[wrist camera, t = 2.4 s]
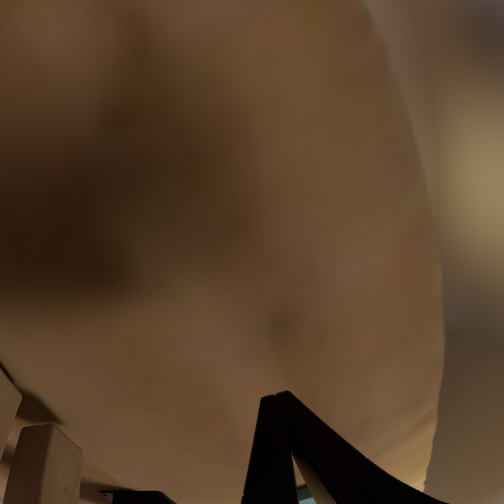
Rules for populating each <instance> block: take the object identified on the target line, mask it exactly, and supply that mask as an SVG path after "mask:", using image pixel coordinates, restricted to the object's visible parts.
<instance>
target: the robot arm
mask: <svg viewBox="0 0 504 504" xmlns="http://www.w3.org/2000/svg"><path fill="white" fill-rule="evenodd" d="M291 453H292V454H291ZM292 456H293V458H294V460H295V462H296V465H297V467H298V469H299V471H300V473H301V475H302V477H303V479H304V481H305V483H306V485H307V487H308V489H309V491H310V493H311V494H312V496H313V498H314V500H315V502H316V504H449V503H445V502H442V501H440V500H437V499H435V498H433V497H431V496H429V495H426V494H424V493H423V492H421V491H419V490H417V489H415V488H413V487H411V486H409V485H407V484H405V483H403V482H401V481H400V480H398V479H396V478H395V477H393V476H391V475H390V474H388V473H387V472H385V471H384V470H383V469H381V468H380V467H378V466H377V465H376V464H374V463H373V462H372V461H371V460H369V459H368V458H366V457H365V456H364V455H363V454H362V453H360V452H359V451H358V450H357V449H356V448H354V447H353V446H352V445H351V444H349V443H348V442H347V441H346V440H345V439H343V438H342V437H341V436H340V435H339V434H337V433H336V432H335V431H334V430H333V429H332V428H330V427H329V426H328V425H327V424H326V423H325V422H323V421H322V420H321V419H320V418H319V417H318V416H317V415H315V414H314V413H313V412H312V411H311V410H310V409H309V408H308V407H307V406H305V405H304V404H303V403H302V402H301V401H300V400H299V399H298V398H297V397H295V396H294V395H293V394H292V393H291V392H290V391H288V390H286V391H283V392H279V393H276V395H273V394H272V395H268V396H264V397H262V398H261V400H260V406H259V411H258V417H257V423H256V428H255V434H254V439H253V445H252V450H251V455H250V461H249V466H248V471H247V476H246V481H245V486H244V491H243V496H242V500H241V504H300V503H299V497H298V490H297V484H296V478H295V472H294V465H293V460H292ZM99 494H100V495H101V496H103V497H104V498H106V499H107V500H109V501H110V502H112V504H176V503H175V502H174V501H172V500H171V499H170V498H169V497H167V496H166V495H165V494H164V493H163V492H160V491H103V490H101V491H100V493H99Z"/></svg>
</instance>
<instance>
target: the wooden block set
mask: <svg viewBox="0 0 504 504" xmlns="http://www.w3.org/2000/svg"><path fill="white" fill-rule="evenodd" d="M21 400H22V395H21V393H20V392H19V391H18V390H17V389H16V387H15V386H14V385H13V384H12V382H11V381H10V380H9V379H8V377H7V376H6V375H5V373H4V372H3V371H2V369H1V368H0V461H1V458H2V454H3V451H4V448H5V444H6V441H7V438H8V435H9V432H10V429H11V426H12V424H13V421H14V418H15V415H16V413H17V410H18V407H19V405H20V402H21ZM82 462H83V451H82V450H81V449H80V448H79V447H78V446H77V445H76V444H75V443H74V442H72V441H71V440H70V439H69V438H68V437H67V436H66V435H65V434H64V433H63V432H62V431H61V430H60V429H59V428H58V427H57V426H56V425H54V424H45V425H37V426H29V427H24V428H23V429H22V430H21V433H20V436H19V439H18V442H17V446H16V449H15V453H14V456H13V460H12V464H11V468H10V472H9V476H8V481H7V485H6V490H5V495H4V500H3V504H79V493H80V481H81V471H82Z"/></svg>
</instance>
